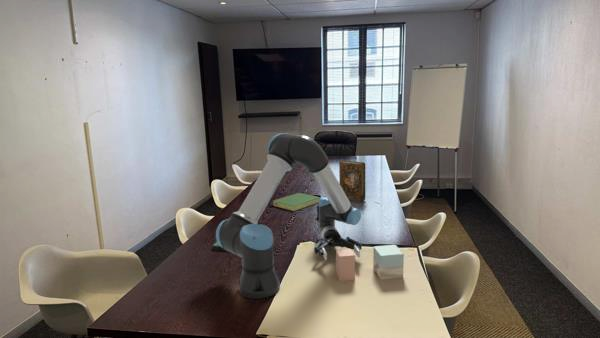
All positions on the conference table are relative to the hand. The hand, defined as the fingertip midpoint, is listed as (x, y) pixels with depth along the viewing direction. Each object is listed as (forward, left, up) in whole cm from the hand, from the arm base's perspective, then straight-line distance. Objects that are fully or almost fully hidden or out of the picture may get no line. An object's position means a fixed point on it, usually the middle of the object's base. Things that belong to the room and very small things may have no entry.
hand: (342, 255), depth 161 cm
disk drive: (-55, -12, -7) cm, 57 cm away
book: (-52, +85, -6) cm, 100 cm away
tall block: (+4, -5, -6) cm, 9 cm away
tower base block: (+16, +8, -6) cm, 19 cm away
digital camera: (-46, +51, -6) cm, 69 cm away
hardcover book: (-76, +58, -7) cm, 96 cm away
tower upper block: (+16, +8, -1) cm, 18 cm away
